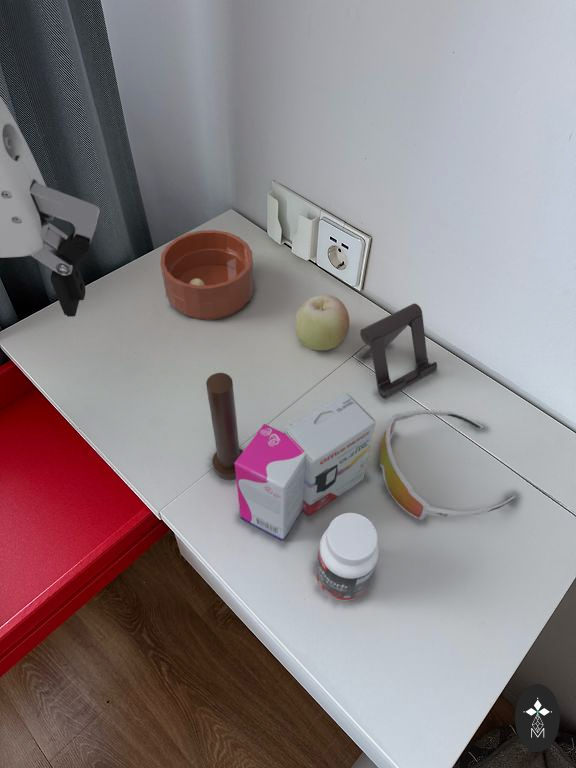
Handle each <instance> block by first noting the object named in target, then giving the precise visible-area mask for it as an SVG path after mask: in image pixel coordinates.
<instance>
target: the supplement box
mask: <svg viewBox="0 0 576 768" xmlns="http://www.w3.org/2000/svg"><path fill="white" fill-rule="evenodd" d="M290 438H291V437H290ZM290 438H289V437H288V436H287V435H286V434H285V432H283V431H281V430H279V429H276V428H274V427H272V426H270V425H269V424H265V423H263V424H262V426H260V428H259V430H258V431H257V432H256V434H255V435H254V436H253V438H252V439H251V441H250V442H249V443H248V444H247V446H246V447H245V448H244V449H243V450H242V451H243V452H242V454H241V455H240V456H239V458H238V459H237V460H236V461H235V472H236V479H235V481H236V489H237V498H238V507H239V517H240V520H243V521H244V522H246V523H248V524H250V525H252V526H254V527H255V528H257V529H259V530H261V531H263V532H265V533H266V534H268V535H270V536H272V537H273V538H276V539H278V540H280V541H281V542H284V541H285V539H286V538H287V536H288V534H289V533H290V531H291V530H292V528H293V526H294V525H295V523H296V521H297V520H298V518H299V517H300V515H301V513H302V512H303V511H302V510H303V496H304V479H305V454H306V452H305V451H304V450H303V449H302V448H301V447H300V446H299V445H298V444H297V442H296V441H295V440H294V439H292V438H291V439H292V440H293V441H292V440H291V439H290ZM297 446H298V447H299V448H300V449H301V450H302V451H303V452H304V453H305V454H304V453H303V452H302V451H301V450H300V449H299V448H298V447H297Z"/></svg>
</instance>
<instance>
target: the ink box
mask: <svg viewBox="0 0 576 768" xmlns="http://www.w3.org/2000/svg"><path fill="white" fill-rule="evenodd" d="M376 424H377V421H376V419H374V417H372V416H371V414H370V413H369V412H367V410H366V409H364V408H363V407H362V406H361V405H360V404H359V402H357V400H356V399H354V398H353V397H352V396H351V395H350V394H349V393H343V394H341V395H339V396H337V397H336V398H334V399H332V400H330V401H328V402H327V403H326V404H325V405H323V406H321V407H319V408H317V409H315V410H314V411H312V412H310V413H309V414H307V415H306V416H304V417H302V418H300V419H299V420H297V421H295V422H293V423H291V424H290V425H289V427H288V428H287V429H285V432H284V433H285V434H286V435H287V436H288V437H289V438H290V437H291V438H292V439H294V440H295V441H296V442H297V444H298V445H299V446H300V447H301V448H302V449H303V450H304V451H305V452H306V454H305V453H304V452H303V451H302V450H301V449H300V448H299V447H298V446H297V447H298V448H299V449H300V450H301V451H302V452H303V453H304V454H305V479H304V496H303V510H302V512H303V513H304V514H305V515H306V516H307V517H311V516H313V515H314V514H315V513H316V512H318V511H320V510H321V509H322V508H324V507H325V506H326V505H329V504H330V503H332V501H334V500H335V499H337V498H339V497H340V496H341V495H342V494H344V493H345V492H347V491H348V490H350V489H352V488H353V487H354V486H356V485H357V484H359V483H360V482H362V481H363V480H364V478H365V473H366V468H367V464H368V459H369V455H370V450H371V446H372V441H373V436H374V433H375V428H376ZM291 438H290V439H291ZM292 439H291V440H292ZM292 441H293V440H292Z"/></svg>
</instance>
